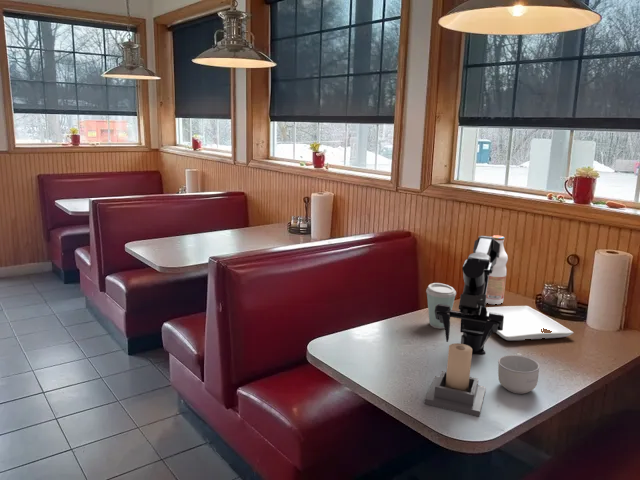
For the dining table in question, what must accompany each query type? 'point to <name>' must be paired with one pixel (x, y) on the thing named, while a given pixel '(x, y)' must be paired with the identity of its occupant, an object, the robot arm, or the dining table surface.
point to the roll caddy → (456, 396)
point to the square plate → (527, 324)
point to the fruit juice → (497, 276)
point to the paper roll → (458, 367)
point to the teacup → (518, 373)
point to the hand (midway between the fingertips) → (463, 344)
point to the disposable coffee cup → (439, 300)
